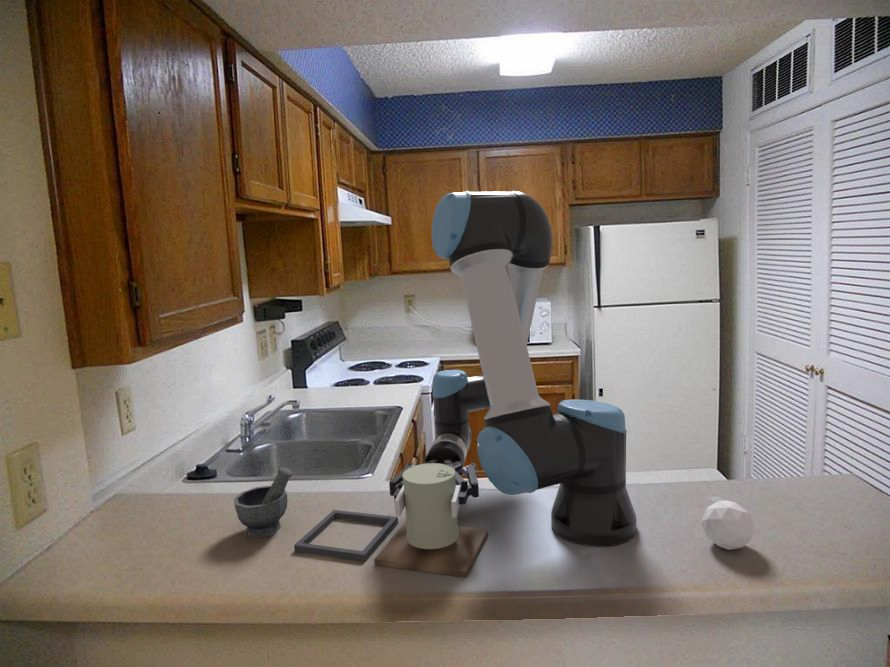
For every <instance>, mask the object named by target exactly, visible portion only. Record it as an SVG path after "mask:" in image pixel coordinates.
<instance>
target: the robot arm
mask: <svg viewBox="0 0 890 667" xmlns="http://www.w3.org/2000/svg"><path fill="white" fill-rule="evenodd" d="M431 245H432V248H433V251H434V253H435V254H436V256H437V257H438V258H440V259H442V260H447V259H448V263H449V267H450V271H451V273H453V274H454V275H455V276H457V277H458V278H459V277H460V279H461V283H462V288H463V291H464V295H465V296H464V297H465V301H466V305H467V310H468V314H469V319H470V322H471V324H470V325H471V327H472V332H473V337H474V342H475V346H476V351H477V354H478V358H479V363H480V368H481V371H482V374H481V375H477V376H474V375H473V376H470V377H469V376H467V372H466V371H464V370H461V369H446V370H445V369H444V370H440V371H437V372H436V373H435V374H434V375H433V378H432V403H433V411H434V412H433V414H434V435H435V436H434V440H433V442H432V444H431V446H430V448H429V450H428V452H427V453H426V456H425V458H424V461H423V462H422V463H421V464H426V463H439V464H445V465H448V466H451V467H452V468H453V469H454V470H455V487H456V489H455V491H454V494H453V498H452V501H451V508H452V517H457V518H458V513H459V510H460V506H462V505H463V506H464V505H466V504H467V501H468V499H469V497H470V496H471V497H472V498H479V497H480V493H479V491H480V490H479V481H478V476H477V463H474V462H472V463H470V464H469V465H466V466H464V464H465V461H466V458H467V454H468V451H469V449H470V447H471V446H470V445H471V444H472V431H471V428H470V418H469V415H470V413H471V412H476V411H481V410H488V411H487V412H486V414H485V416H484V417H483V419H484V420H483V421H484V425H485V427H484V428H483V429H482V430H480V431H479V433H478V435H477V439H476V441H477V444H476V448H477V455H478V459H479V462H480V465H481V468H482V470H483V473H484V474H485V476H486V477H487V479H488V480H489V482H490V483H491V484H492V485H493V486H494V488H496V490H498V491H499V492H501V493H503V494H504V495H508V496H516V495H522V494H532V493H535V492H536V491H537V490H542V489H545V488H549V487H552V486H556V485H559V487H558V489H557V492H556V496H555V498H554V501H553V505H552V507H551V512H550V515H551V516H550V519H551V527H552V529H553V531H554V532H555V533H556V534H557V535H559V537H562V538H563V539H565V540H567V541H569V542H572V543H576V544H579V545H585V546H592V547H607V546H608V547H609V546H616V545H620V544H622V543H625V542H627V541H629V540H631V539H632V538H633V537H634V536H635V535H636V534H637V514H636V512H635V510H634V507H633V504H632V501H631V498H630V496H629V495H630V494H629V492H628V489H627V481H626V480H627V433H628V432H627V429H626V417H625V413H624V411H623V410H622V409H621V408H619V407H618V406H615V405H613V404H611V403H606V402H603V401H602V402H601V401H598V400H591V399H565V400H561V401H560V402H559V403H558V404H557V405H558V406H557V408H556V410H557V413H554V414H553V412H552V407H551V404H550V402H548V401H547V400H545V399H543V398H542V397H541V396H540V395H539V391H538V387H537V383H536V379H535V375H534V371H533V365H532V363H531V359H530V354H529V350H528V346H527V345H528V343H529V342H528V341H529V336H530V332H531V326H532V323H533V322H532V321H533V318H534V313H535V308H536V303H537V298H538V294H539V290H540V285H541V281H542V280H541V279H542V276H543V271H544V270H545V269H546V268H548V267H549V266H550V263H551V262H550V261H551V257H552V253H553V252H552V251H553V232H552V227H551V224H550V219H549V218H548V215H547V213H546V210H545V209H544V208H543V207H542V205H541V204H540V203H539V202H538V201H537V200H536V199H535V198H534V197H532V196H531V195H529V194H527V193H524V192H521V191H518V190H517V191H515V190H512V191H511V190H508V191H468V190H464V191H462V192H448V193H447V194H445V195H443V196H442V197H441V199H440V200H438V203H437V205H436V207H435V210H434V213H433V218H432V222H431ZM413 466H416V465H414V464H413V462H407V463H406V464H405V467H404V468H403V469H402V470H401V471H399V473H397V474H396V475H395V476H394V477H393V478H392V479H390V481H389V482H388V484H389V486H388V488H389V495H390V496H392V497H393V502H394V508H395V509H394V510H395V511H394V512H395V517H401V515H402V513H403V512H404V509H405V497H404V485H403V477H402V475H403V473H404V471H405V470H407V469H408V468H410V467H413ZM462 475H465V477H466V479H464V478H463V477H462Z"/></svg>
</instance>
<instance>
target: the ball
mask: <svg viewBox="0 0 890 667" xmlns="http://www.w3.org/2000/svg"><path fill="white" fill-rule="evenodd" d="M701 525H702V528H703V531H704V533H705V537H707V539H709V540H710V541H711V542H712V543H714V544H715V545H716V546H717V547H719V548H722V549H725V550H727V551H728V550H729V551H730V550H737V549H740V548H743V547H745V546H746V545H747V544H749V543H750V542H751V540H752V539H753V536H754V532H755V529H756V526H755V524H754V521H753V520H752V516H751V514H750V511H748V510H747V509H745V508H744V507H742V506H741V505H739V504H738V503H737V502H734V501H729V500H724V501H718V502H716V503H712V504H710V505H709V506H708V507H706V508H705V511H704V513H703V517H702V519H701Z"/></svg>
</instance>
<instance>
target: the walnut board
mask: <svg viewBox="0 0 890 667" xmlns="http://www.w3.org/2000/svg"><path fill="white" fill-rule="evenodd" d="M458 531H459V537H458V539H457V540H456V541H455V542H454V543H452V544H451V545H449V546H446V547H443V548H439V549H421V548H417V547H414V546H412V545H411V544H409V543H408V541H407V539H406V534H407V527H406V520H405V521H404V522H403V524H402V525H401V526H400V527H399V529H397V531H396V532H395V533H394V535H392V537H391V539H390V540H389V541H387V543H386V544H385V545H384V547H383V548H382V549H381V550H380V552H379V553H378V554H377V555H376V556H375V558H374V559H373V561H374V565H375V566H376V565H377V566H382V567H389V568H398V569H403V570H411V571H418V572H424V573H431V574H438V575H445V576H453V577H459V578H467V577H468V575H469V572H470V570H471V569H472V567H473V565H474V563H475V561H476V559H477V557H478V555H479V553H480V551H481V549H482V547H483V545H484V543H485V542H486V540H487V537H488V536H489V530H488V529H487V528H486V529H485V528H478V527H470V526H461V525H458Z"/></svg>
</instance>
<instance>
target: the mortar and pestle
mask: <svg viewBox="0 0 890 667" xmlns="http://www.w3.org/2000/svg"><path fill="white" fill-rule="evenodd" d="M291 477H293V472H292V470H290V469H289V468H287V467H283V466H282V467H279V468H278V469H277V475H276V477H275V478H274V479H273V482H272V484H271V485H264V486H256V487H253V488H250V489H247V490H245V491H242V492H240V493H239V494H238V495H237V496H236V497H235V498H233V502H234V504H233V505H234V509H235V512H236V515H237V519H238V520H239V522H240V523H241V524H242V525H243V526H244V527H247V528H246V530H247V535H248V537H252V538H255V539H256V538H257V539H258V538H265V537H266V538H267V537H269V536H272V535H274V534H276V533H277V532H278V531H279V530H280V529H281V528H282V527H281V522H280V519H281V518H283V516H284V515H285V513H286V510H287V508H288V494H287V493H288V492H287V491H286V487H287V485H288V482H289V479H290V478H291Z"/></svg>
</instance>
